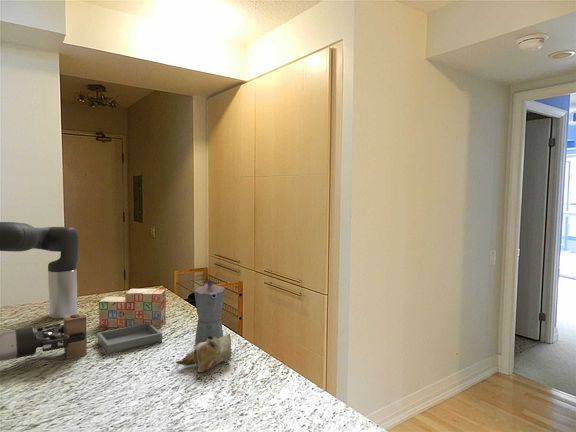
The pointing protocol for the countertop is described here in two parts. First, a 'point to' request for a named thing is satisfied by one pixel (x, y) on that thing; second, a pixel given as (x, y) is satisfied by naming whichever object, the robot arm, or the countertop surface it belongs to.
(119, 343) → the charcoal tray
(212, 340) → the ceramic sculpture
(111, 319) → the stack of blocks
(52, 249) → the robot arm
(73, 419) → the countertop surface
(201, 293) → the moka pot
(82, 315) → the walnut block
